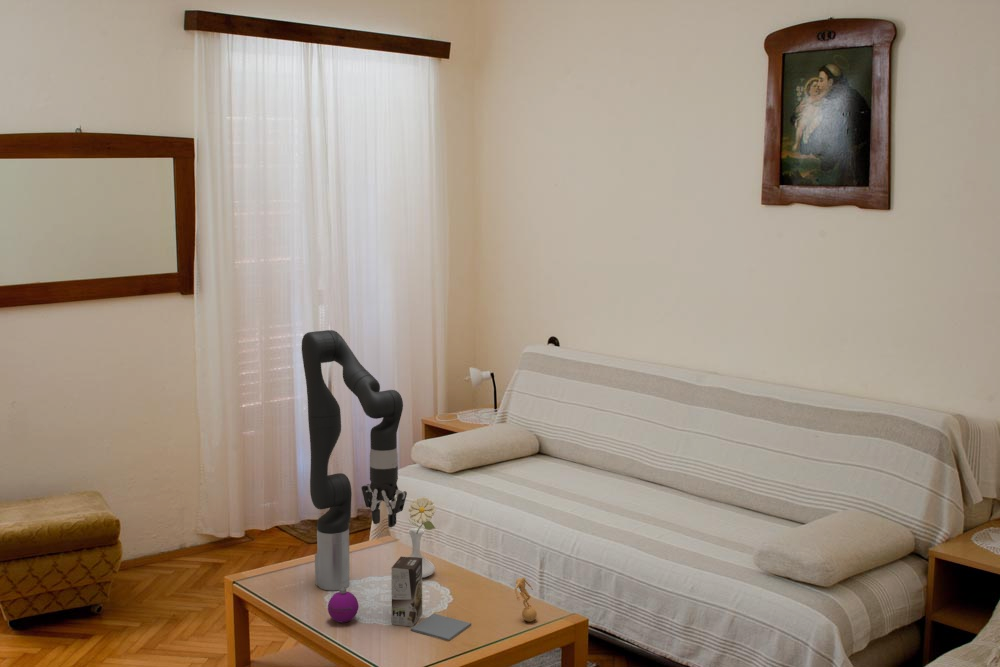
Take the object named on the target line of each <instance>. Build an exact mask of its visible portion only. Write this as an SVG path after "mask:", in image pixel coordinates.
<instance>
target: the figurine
mask: <svg viewBox="0 0 1000 667" xmlns="http://www.w3.org/2000/svg"><path fill="white" fill-rule="evenodd" d="M515 584H516V585H515V587H514V591H515V595H516V599H517V601H520V598H521V597H522V598H523V601H522V602H523V606H524V608H523V610H522V611H521V616H522V618H523V620H525V621H526V622H528V623H529V622H534V620H536V618H537V613H538V612H537V610H536V608H534V607H533V606H532V605H531V604H529V602H528V601H529V600H530V599H531V595H530V593H529V592H528V591H527V589H526V585H527V586H528V587H530V589H531V590H532V591H533V589H534V588H533V587H532V585H531V584H530V583H528V581H527V580H526V578H525V577H524V576H523V577H522V578H517V579H516V581H515ZM518 590H519V592H520V596H521V597H520V596H519V593H518Z"/></svg>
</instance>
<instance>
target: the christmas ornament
mask: <svg viewBox="0 0 1000 667" xmlns="http://www.w3.org/2000/svg"><path fill="white" fill-rule="evenodd" d="M341 587H342V586H341ZM343 587H344V586H343ZM358 611H359V601H358V599H357V597H356V596H355V595H354V594H353V593H352V592H350V591H347V587H346V588H345V587H344V588H341V589H340V590H338V591H337V592H335V593H334V594H333V595H331V597H330V599H329V600H328V604H327V612H328V614H329V616H330V618H331V619H332V620H334V621H335V622H338V623H348V622H350V621H352V620H353V619H354V618H355V616H357V613H358Z"/></svg>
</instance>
